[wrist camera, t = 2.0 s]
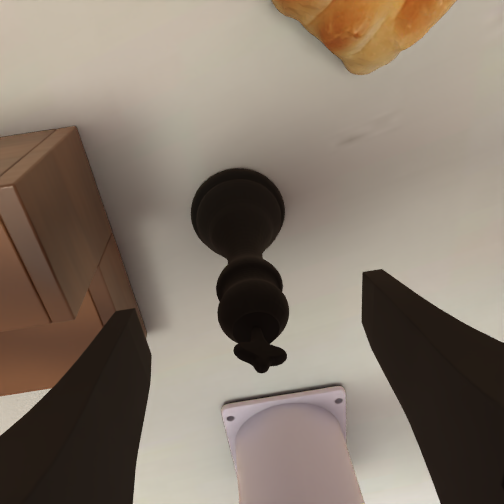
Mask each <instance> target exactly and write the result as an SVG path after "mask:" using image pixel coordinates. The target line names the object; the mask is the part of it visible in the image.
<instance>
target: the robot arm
mask: <svg viewBox="0 0 504 504" xmlns="http://www.w3.org/2000/svg"><path fill="white" fill-rule="evenodd" d="M362 324H363V327H364V330H365V333H366V335H367V338H368V341H369V343H370V346H371V349H372V351H373V353H374V355H375V357H376V359H377V361H378V362H379V364H380V366H381V368H382V370H383V372H384V374H385V376H386V378H387V380H388V381H389V383H390V385H391V387H392V389H393V391H394V393H395V395H396V397H397V399H398V400H399V402H400V404H401V406H402V408H403V410H404V412H405V414H406V416H407V418H408V420H409V423H410V425H411V427H412V430H413V432H414V435H415V437H416V440H417V442H418V445H419V447H420V450H421V452H422V455H423V457H424V460H425V463H426V465H427V468H428V470H429V473H430V476H431V478H432V481H433V484H434V486H435V489H436V492H437V495H438V497H439V500H440V503H441V504H504V343H503V342H501V341H498V340H496V339H494V338H492V337H490V336H488V335H486V334H484V333H482V332H480V331H478V330H476V329H474V328H472V327H470V326H468V325H466V324H465V323H463V322H461V321H459V320H458V319H456V318H454V317H452V316H451V315H449V314H447V313H446V312H444V311H442V310H441V309H439V308H438V307H436V306H434V305H433V304H431V303H430V302H428V301H427V300H425V299H424V298H422V297H421V296H419V295H418V294H416V293H415V292H413V291H412V290H411V289H409V288H408V287H406V286H405V285H404V284H402V283H401V282H399V281H398V280H397V279H395V278H394V277H392V276H391V275H390V274H388V273H387V272H385V271H384V270H382V269H380V270H373V271H367V272H363V280H362ZM151 356H152V355H151V352H150V349H149V346H148V344H147V341H146V338H145V335H144V332H143V329H142V326H141V324H140V321H139V318H138V315H137V312H136V309H135V308H132V309H125V310H119V311H115V313H114V314H113V315H112V316H111V318H110V319H109V320H108V321H107V323H106V324H105V325H104V327H103V328H102V329H101V330H100V332H99V333H98V334H97V336H96V337H95V338H94V340H93V341H92V342H91V343H90V345H89V346H88V347H87V348H86V350H85V351H84V352H83V353H82V355H81V356H80V357H79V358H78V360H77V361H76V362H75V363H74V364H73V365H72V367H71V368H70V369H69V370H68V371H67V372H66V373H65V375H64V376H63V377H62V378H61V379H60V380H59V381H58V382H57V384H56V385H55V386H54V387H53V388H52V389H51V390H50V391H49V392H48V393H47V394H46V395H45V396H44V397H43V398H42V399H41V400H40V401H39V402H38V403H37V404H36V405H35V406H34V407H33V408H32V409H31V410H30V411H29V412H27V413H26V414H25V415H24V416H23V417H22V418H21V419H20V420H18V421H17V422H16V423H15V424H14V425H13V426H11V427H10V428H9V429H8V430H7V431H6V432H4V433H3V434H2V435H1V436H0V504H133V493H134V481H135V469H136V461H137V454H138V448H139V443H140V438H141V432H142V427H143V422H144V416H145V411H146V405H147V400H148V394H149V388H150V378H151ZM221 413H222V418H223V422H224V426H225V430H226V434H227V438H228V442H229V446H230V450H231V454H232V458H233V462H234V466H235V470H236V474H237V478H238V491H239V504H365V503H364V500H363V496H362V493H361V490H360V487H359V484H358V481H357V477H356V474H355V471H354V468H353V465H352V462H351V459H350V455H349V452H348V449H347V446H346V393H345V390H344V388H343V387H341V386H334V387H328V388H322V389H316V390H310V391H304V392H297V393H291V394H285V395H279V396H273V397H266V398H260V399H254V400H248V401H242V402H236V403H229V404H225V405H224V406H223V407H222V408H221Z"/></svg>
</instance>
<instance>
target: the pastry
mask: <svg viewBox="0 0 504 504" xmlns="http://www.w3.org/2000/svg"><path fill="white" fill-rule="evenodd" d="M456 1H457V0H272V2H273V4H274V5H275V7H276V8H277V9H278V10H279V12H281V13H282V14H284V15H285V16H288V17H291V18H294V19H296V20H298V21H299V22H300V23H301V24H302V25H303V26H304V27H305V28H306V29H307V30H308V31H309V32H310V33H311V34H312V35H314V36H315V37H317V39H319V40H320V41H321V42H322V43H323V44H324V45H325V46H326V47H327V48H328V49H329V50H330V51H331V52H332V53H333V54H335V55H336V56H338V57H339V58H340V59H341V60H342V62H343V63H344V65H345V67H346V68H347V70H348V71H350V72H351V73H353V74H357V75H364V74H369V73H371V72H373V71H375V70H376V69H378V68H380V67H382V66H383V65H387V64H388V63H390V62H391V61H392V60H393V59H395V58H396V56H397V55H398V54H399V53H400V52H401V51H402V50H405V49H407V48H408V47H410V46H412V45H413V44H414V43H416V42H417V41H418V40H420V39H421V38H422V37H423V36H424V35H425V33H427V32H428V31H429V29H430V28H431V27H432V26H433V25H434V24H435V23H436V22H437V21H438V20H439V19H440V18H441V17H442V16H443V15H444V14H445V13H446V12H447V11H448V10H449V9H450V7H451V6H452V5H453V4H454V3H455V2H456Z"/></svg>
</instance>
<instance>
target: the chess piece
mask: <svg viewBox="0 0 504 504" xmlns="http://www.w3.org/2000/svg"><path fill="white" fill-rule="evenodd" d="M284 215H285V208H284V202H283V199H282V196H281V194H280V192H279V190H278V188H277V187H276V186H275V185H274V183H273V182H272V181H270V180H269V179H268V178H267V177H266V176H264V175H262V174H260V173H258V172H255V171H252V170H248V169H230V170H225V171H222V172H220V173H217V174H215V175H214V176H212V177H210V178H209V179H208V180H207V181H205V182H204V183H203V184H202V185H201V187H200V188H199V189H198V191H197V192H196V195H195V197H194V199H193V202H192V207H191V220H192V224H193V227H194V230H195V232H196V234H197V235H198V237H199V238H200V239H201V241H202V242H203V243H204V244H205V245H207V246H208V247H209V248H210V249H211V250H213V251H214V252H215V253H217V254H219V255H221V256H223V257H225V258H226V259H227V260H228V265H227V266H226V267H225V268H224V270H223V271H222V272H221V274H220V276H219V278H218V281H217V286H216V291H217V296H218V299H219V301H220V303H219V306H218V321H219V324H220V326H221V328H222V330H223V332H224V333H225V334H226V335H227V336H228V337H229V338H230V339H232V340H233V341H235V342H236V343H238V344H237V345H236V346H235V347H234V354H235V355H236V356H237V357H238V358H239V359H240V360H242V361H245V362H247V363H249V364H251V365H252V366H253V367H254V368H255V370H256V371H257V372H258V373H265V372H267V371H268V369H269V366H277V365H280V364H282V363H283V362H284V361H286V359H287V354H286V352H285V351H284V350H283V349H281V348H279V347H276V346H273V345H270V343H271V342H273V341H274V340H275V339H276V338H277V337H278V336H279V335H280V334H281V332H282V331H283V330H284V328H285V326H286V324H287V321H288V317H289V306H288V302H287V299H286V297H285V296H284V294H283V293H282V289H283V284H282V279H281V276H280V274H279V272H278V271H277V270H276V268H275V267H274V266H273V265H272V264H270V263H269V262H267V261H266V260H264V259H263V258H262V253H263V252H264V251H265V250H266V249H267V248H268V247H269V246H270V245H271V244H272V242H273V241H274V240H275V238H276V236H277V235H278V233H279V232H280V230H281V227H282V225H283V221H284Z"/></svg>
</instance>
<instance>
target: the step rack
mask: <svg viewBox="0 0 504 504" xmlns="http://www.w3.org/2000/svg"><path fill="white" fill-rule="evenodd" d="M132 308H135V309H136V312H137V315H138V318H139V321H140V324H141V326H142V329H143V332H144V335H145V338H146V336H147V332H146V329H145V326H144V323H143V320H142V317H141V314H140V312H139V309H138V306H137V303H136V300H135V297H134V294H133V291H132V288H131V285H130V282H129V279H128V276H127V273H126V271H125V268H124V265H123V262H122V259H121V256H120V253H119V250H118V247H117V244H116V241H115V238H114V235H113V233H112V230H111V227H110V224H109V221H108V218H107V215H106V212H105V209H104V206H103V203H102V200H101V197H100V195H99V192H98V189H97V186H96V183H95V180H94V177H93V174H92V171H91V168H90V165H89V162H88V159H87V157H86V154H85V151H84V148H83V145H82V142H81V139H80V136H79V133H78V130H77V128H76V127H75V126H72V127H66V128H59V129H52V130H45V131H39V132H32V133H25V134H19V135H12V136H5V137H0V396H5V395H12V394H18V393H24V392H30V391H37V390H43V389H49V388H53V387H54V386H55V385H56V384H57V382H58V381H59V380H60V379H61V378H62V377H63V376H64V375H65V373H66V372H67V371H68V370H69V369H70V368H71V367H72V365H73V364H74V363H75V362H76V361H77V360H78V358H79V357H80V356H81V355H82V353H83V352H84V351H85V350H86V348H87V347H88V346H89V345H90V343H91V342H92V341H93V340H94V338H95V337H96V336H97V334H98V333H99V332H100V330H101V329H102V328H103V327H104V325H105V324H106V323H107V321H108V320H109V319H110V318H111V316H112V315H113V314H114V313H115V311H119V310H125V309H132Z"/></svg>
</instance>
